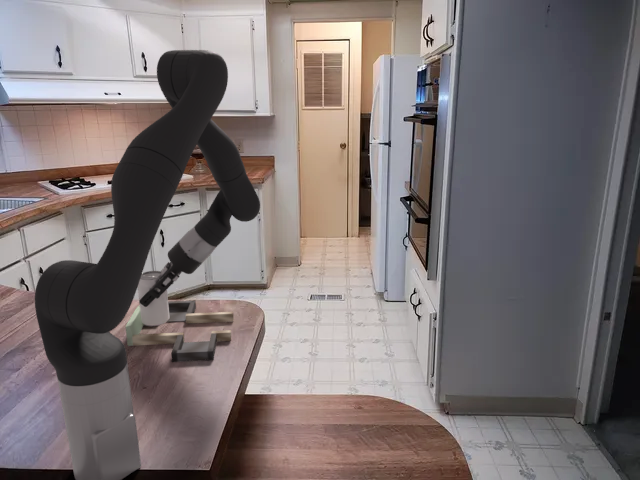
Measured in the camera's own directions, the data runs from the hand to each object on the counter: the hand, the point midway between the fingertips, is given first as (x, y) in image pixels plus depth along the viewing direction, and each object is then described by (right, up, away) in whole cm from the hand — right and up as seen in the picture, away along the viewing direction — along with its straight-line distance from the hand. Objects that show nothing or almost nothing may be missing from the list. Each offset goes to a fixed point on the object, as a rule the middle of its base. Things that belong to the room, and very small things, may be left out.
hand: (146, 297), depth 109 cm
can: (+2, -6, +2) cm, 7 cm away
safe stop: (-3, -9, +2) cm, 10 cm away
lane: (+9, -9, +4) cm, 13 cm away
